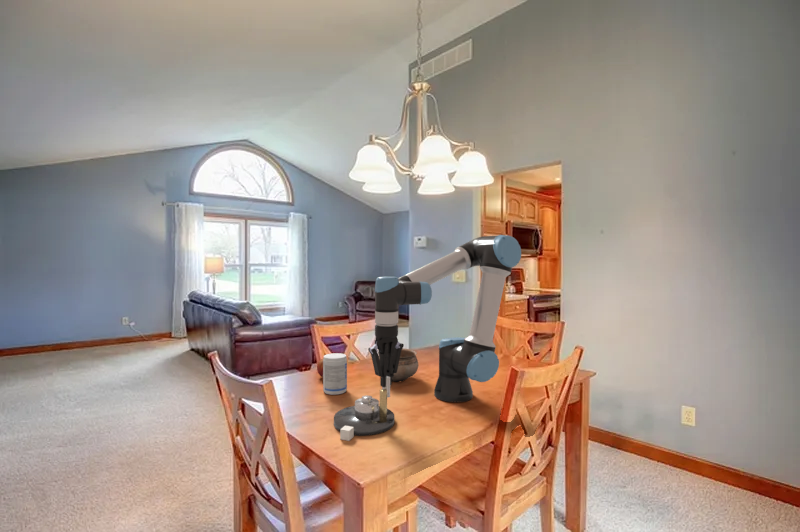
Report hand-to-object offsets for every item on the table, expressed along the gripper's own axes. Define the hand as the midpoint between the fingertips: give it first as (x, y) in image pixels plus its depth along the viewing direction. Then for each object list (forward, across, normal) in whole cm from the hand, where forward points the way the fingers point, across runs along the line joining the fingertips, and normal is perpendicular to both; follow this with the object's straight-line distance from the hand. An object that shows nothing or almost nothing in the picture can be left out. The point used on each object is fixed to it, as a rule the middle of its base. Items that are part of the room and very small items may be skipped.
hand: (386, 396), depth 130 cm
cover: (+8, +3, -6) cm, 10 cm away
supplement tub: (+10, -3, -38) cm, 40 cm away
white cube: (+10, +15, 0) cm, 18 cm away
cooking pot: (+10, -32, -36) cm, 49 cm away
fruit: (+10, -9, -56) cm, 58 cm away
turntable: (+10, +4, -6) cm, 12 cm away
